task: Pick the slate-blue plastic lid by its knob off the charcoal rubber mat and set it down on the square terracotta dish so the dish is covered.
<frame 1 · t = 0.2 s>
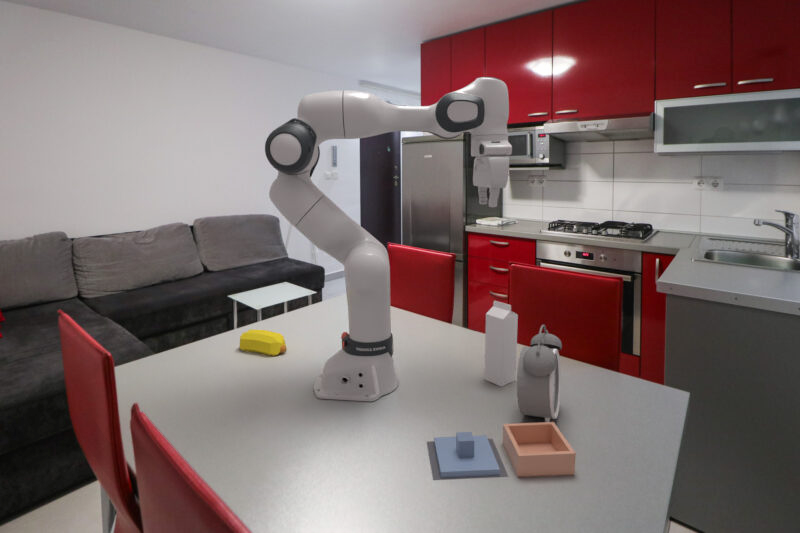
hand: (487, 205, 112), 48 cm above the table, tool pointing down, fingers open, 8 cm apart
lid: (464, 457, 88), point 1 cm above the table, touching mat
mat: (464, 460, 89), on the table
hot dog: (263, 351, 146), on the table
dish: (536, 460, 88), on the table
milk: (499, 380, 123), on the table
alarm clock: (538, 417, 104), on the table
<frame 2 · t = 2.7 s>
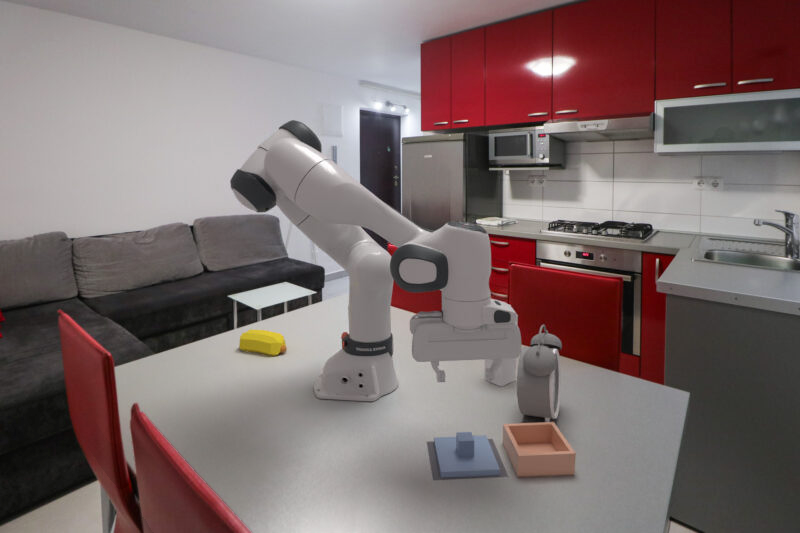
hand: (465, 379, 85), 17 cm above the table, tool pointing down, fingers open, 8 cm apart
nothing on the table moved.
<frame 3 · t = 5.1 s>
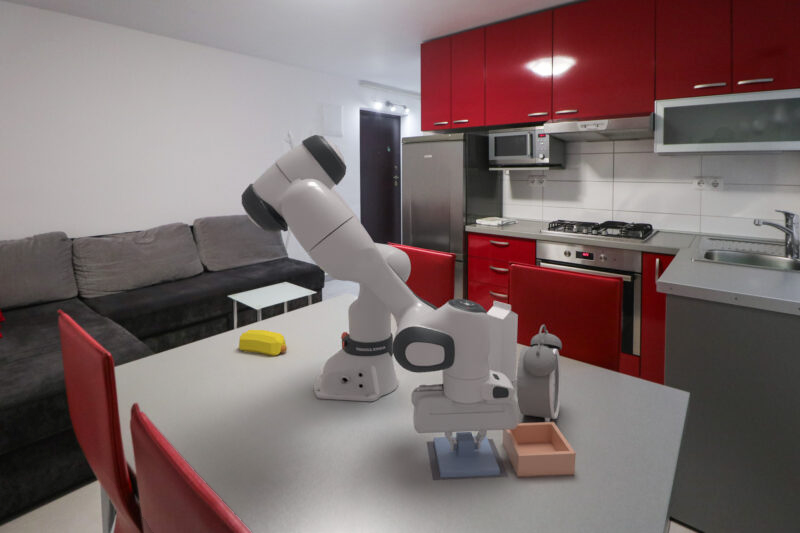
hand: (464, 448, 88), 3 cm above the table, tool pointing down, fingers closed on lid, 3 cm apart
lid: (464, 457, 88), point 1 cm above the table, touching gripper, mat
everything else where it was.
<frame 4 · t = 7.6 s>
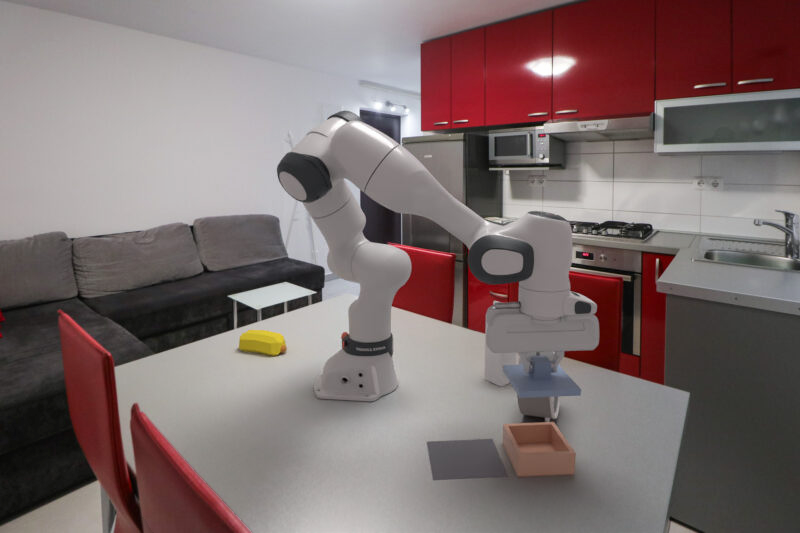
hand: (539, 371, 84), 19 cm above the table, tool pointing down, fingers closed on lid, 3 cm apart
lid: (539, 382, 85), point 17 cm above the table, touching gripper
everything else where it was.
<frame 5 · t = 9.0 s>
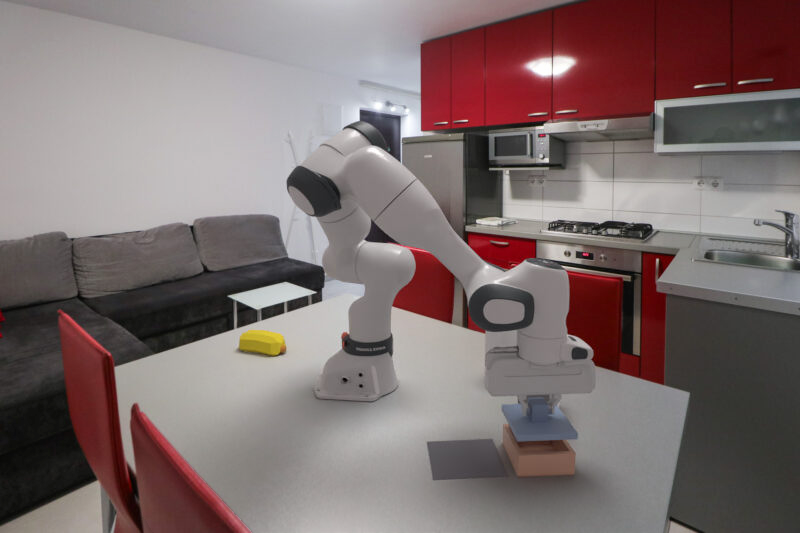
hand: (537, 413, 86), 10 cm above the table, tool pointing down, fingers closed on lid, 3 cm apart
lid: (537, 423, 86), point 8 cm above the table, touching gripper
everything else where it was.
when the fingers open (9 cm above the table, at t = 10.0 s): lid drops 2 cm, resting on dish.
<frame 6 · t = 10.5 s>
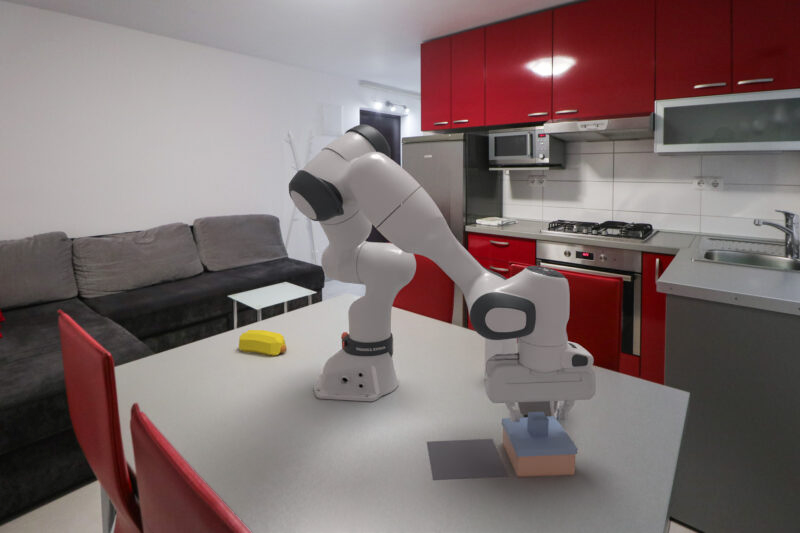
hand: (538, 419, 86), 9 cm above the table, tool pointing down, fingers open, 8 cm apart
lid: (537, 438, 87), point 5 cm above the table, touching dish
everything else where it was.
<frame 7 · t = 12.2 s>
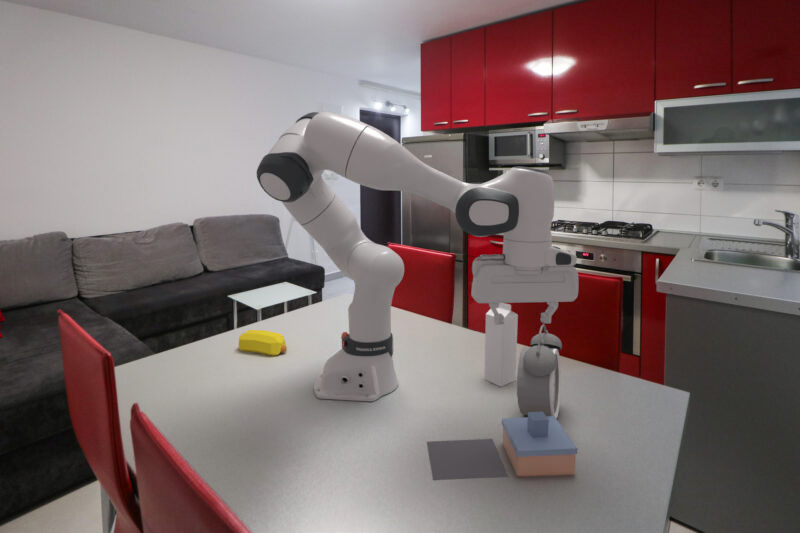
hand: (522, 323, 88), 27 cm above the table, tool pointing down, fingers open, 8 cm apart
nothing on the table moved.
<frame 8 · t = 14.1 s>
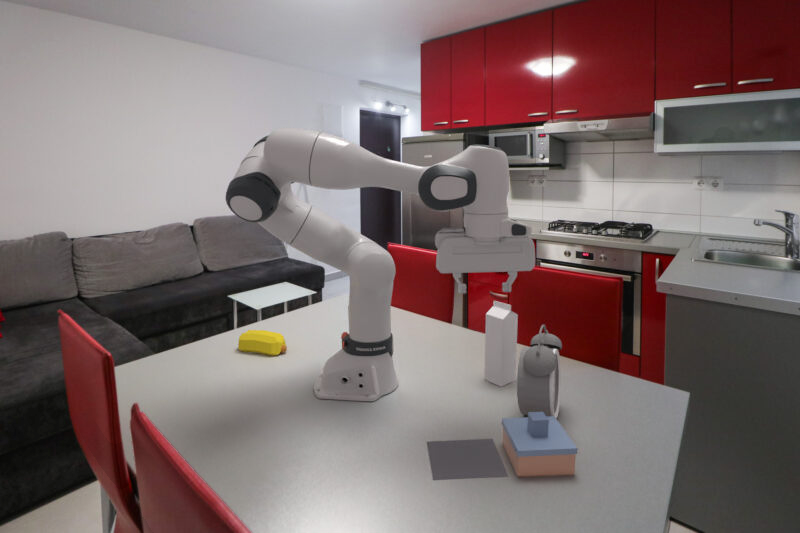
hand: (484, 292, 94), 31 cm above the table, tool pointing down, fingers open, 8 cm apart
nothing on the table moved.
at the end: lid 0.1 cm off-centre on the dish, point 5.0 cm above the dish's base; lid tilted 0°; the gripper is holding nothing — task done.
